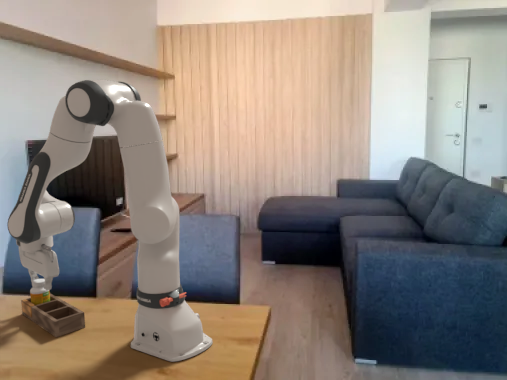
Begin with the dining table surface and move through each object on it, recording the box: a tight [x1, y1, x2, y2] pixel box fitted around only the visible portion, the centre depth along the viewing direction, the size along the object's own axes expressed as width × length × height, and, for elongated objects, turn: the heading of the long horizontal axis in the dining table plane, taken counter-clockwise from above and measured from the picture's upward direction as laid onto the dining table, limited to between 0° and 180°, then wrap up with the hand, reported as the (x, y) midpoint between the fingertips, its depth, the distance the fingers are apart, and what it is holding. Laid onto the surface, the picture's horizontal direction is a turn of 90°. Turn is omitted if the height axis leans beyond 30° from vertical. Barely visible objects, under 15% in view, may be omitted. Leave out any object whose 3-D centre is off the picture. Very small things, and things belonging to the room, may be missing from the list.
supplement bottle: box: [29, 278, 51, 305], centre depth 141 cm, size 5×5×10 cm
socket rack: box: [20, 293, 86, 338], centre depth 137 cm, size 24×9×5 cm, turn 47°
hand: (41, 285), depth 141 cm, fingers open, 8 cm apart
